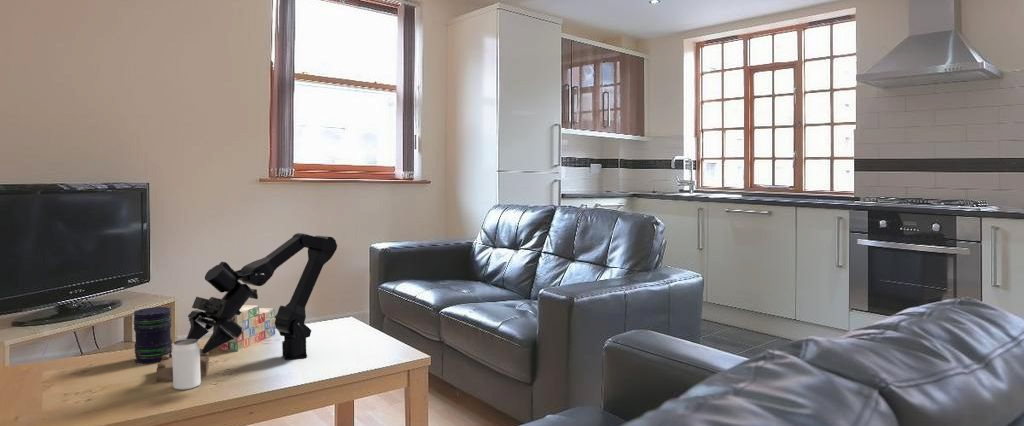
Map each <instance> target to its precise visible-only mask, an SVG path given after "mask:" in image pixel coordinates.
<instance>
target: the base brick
mask: <svg viewBox="0 0 1024 426" xmlns="http://www.w3.org/2000/svg"><path fill="white" fill-rule="evenodd" d="M156 365H157V367H156V382H165V381H173V362H172V358H169V355H163V356H162V360H161V362H160V363H156ZM209 367H210V354H209V352H207V353H206V354H203V353H202V352H201V351H200V374H201V377H202V378H203V377H204V378H205V377H207V376H208V371H209Z"/></svg>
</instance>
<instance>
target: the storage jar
mask: <svg viewBox="0 0 1024 426" xmlns="http://www.w3.org/2000/svg"><path fill="white" fill-rule="evenodd" d="M171 311H172V310H171V308H170V307H167V306H166V307H164V306H160V307H158V306H156V307H147V308H141V309H140V308H139V309H138V310H135V311H134V312H133V330H134V332H135V333H134V334H135V335H134V336H135V343H134V356H135V363H136V364H139V365H153V364H159V363H160V362H161V360H162V356H163V355H169V358H172V348H173V340H172V339H171V328H172V314H171Z"/></svg>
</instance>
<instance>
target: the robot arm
mask: <svg viewBox="0 0 1024 426" xmlns="http://www.w3.org/2000/svg"><path fill="white" fill-rule="evenodd" d="M304 248H307V262H306V264H305V267H304V269H303V271H302V273H301V276H300V278H299V280H298V283H297V284H296V287H295V289H294V291H293V293H292V296H291V299H290V301H288V303H287V304H286V305H280V306H279V307H278V311H277V313H276V315H275V317H274V318H275V330H277V331H278V332H279V336H281V337H283V340H282V343H281V344H282V345H281V346H282V347H281V348H282V350H281V351H282V357H283V358H284V360H295V359H304V358H308V355H307V354H308V353H307V338H310V337H311V334H312V329H311V328H310V327H308V325H306V324H305V321H306V318H307V317H306V314H307V313H306V306H307V304H308V302H309V300H310V297H311V295H312V292H313V291H314V288H315V285H316V283H317V281H318V278H319V276H320V274H321V272H322V269H323V266H324V265H326V263H328V262H329V261H330V260H331V259H332V258H333V256H334V254H335V253H336V251H337V249H338V244H337V241H336V239H335V237H332V236H327V235H325V236H324V235H316V236H314V235H309V234H307V233H301V232H297V233H295V234H293V235H292V236H291V238H289V239H287V241H285V242H284V243H282V245H280V246H278V247H277V248H276V249H274V250H273V251H271V252H270V253H269V254H268V255H266V256H264V257H262V258H260V259H256V260H254V261H251V262H249V263H247V264H245V265H244V266H242V267H241V269H239V270H234V269H233V268H232V267H231V266H230V265H229V263H227V262H225V261H221V262H220V263H219V264H216V265H215V266H213V267H211V269H209V270H208V271H207V272H206V273H205V275H204V280H205V281H206V282H207V283H209V284H210V285H211V286H212V287H213V288H214V289H215V290H217V292H219V293H225V294H224V295H223V297H221V298H217V297H215V296H211V297H210V298H208V299H207V298H204V297H199V296H196V297H195V299H194V301H193V304H192V305H191V308H192V309H195V310H191V312H189V314H188V315H187V317H188V321H189V324H190V328H189V331H188V334H187V336H186V338H185V339H196V340H198V341H199V340H201V338H203V337H204V336H205V335H207V334H208V333H209V332H210V331H209V330H210V329H212V334H211V335H210V337H209V339H208V340H207V342H205V344H204V346H203V347H202V349H201V350H200V353H201V352H202V353H203V354H206V353H207V352H208V353H209V352H211V351H212V350H214V349H216V348H217V347H221V345H222V344H224V343H226V342H228V341H230V340H233V339H234V338H233V337H235V338H238V337H239V336H240V335H241V334H242V327H240V326H239V325H238V324H237V323H236V322H234V321H233V320H232V319H233V318H234V316H235V315H240V314H241V312H240V311H239V310H240V309H241V307H242V306H243V305H246V302H247V301H248V300H249V299H255V300H258V299H259V296H258V295H259V294H258V289H255V288H252V287H250V286H255V287H263V286H264V285H265V284H267V282H268V281H269V280H270V279H271V278H273V275H274V273H275V271H276V270H277V269H278V268H279V267H281V266H282V265H283V264H284V263H286V262H287V261H288V260H290V259H291V258H293V256H295V255H296V254H298V253H299V252H300V251H302V250H303V249H304ZM240 281H241V282H242V283H241V282H240ZM249 285H250V286H249Z"/></svg>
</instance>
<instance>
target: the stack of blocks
mask: <svg viewBox="0 0 1024 426" xmlns="http://www.w3.org/2000/svg"><path fill="white" fill-rule="evenodd" d="M239 311H240V312H241V314H240V315H235V316H234V318H233V319H232V320H233V321H234V322H236V323H237V324H238V325H239V326H240V327H242V334H241V335H240V336H239V337H238V338H235V337H233V338H234V339H233V340H230V341H228V342H226V343H224V344H222V345H220V351H224V350H230V351H229V352H239V350H240V351H242V350H244V349H246V347H247V348H249V347H251V346H253V345H255V344H257V343H259V342H261V341H264V340H265V339H268V338H270V337H273V336H274V335H276V326H275V319H276V318H274V317H275V316H276V315H275V308H272V307H270V308H268V307H260V306H259V305H257V304H256V305H251V304H250V305H249V304H244V305H243V306H242V307H241V309H240V310H239ZM256 342H257V343H256ZM254 343H255V344H254ZM252 344H253V345H252ZM250 345H251V346H250ZM248 346H249V347H248ZM243 348H244V349H243ZM241 349H242V350H241Z"/></svg>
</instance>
